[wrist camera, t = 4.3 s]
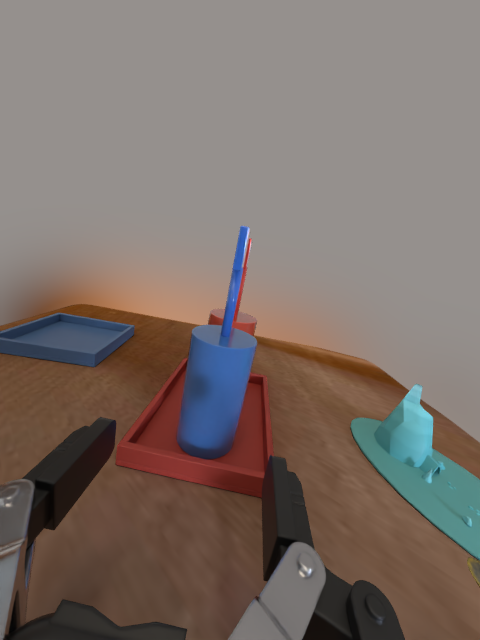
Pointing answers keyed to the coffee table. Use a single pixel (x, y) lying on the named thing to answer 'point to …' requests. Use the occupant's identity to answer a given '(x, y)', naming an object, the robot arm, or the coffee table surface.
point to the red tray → (170, 460)
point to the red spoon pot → (237, 307)
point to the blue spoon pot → (216, 376)
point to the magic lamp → (474, 569)
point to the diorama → (422, 470)
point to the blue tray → (66, 339)
